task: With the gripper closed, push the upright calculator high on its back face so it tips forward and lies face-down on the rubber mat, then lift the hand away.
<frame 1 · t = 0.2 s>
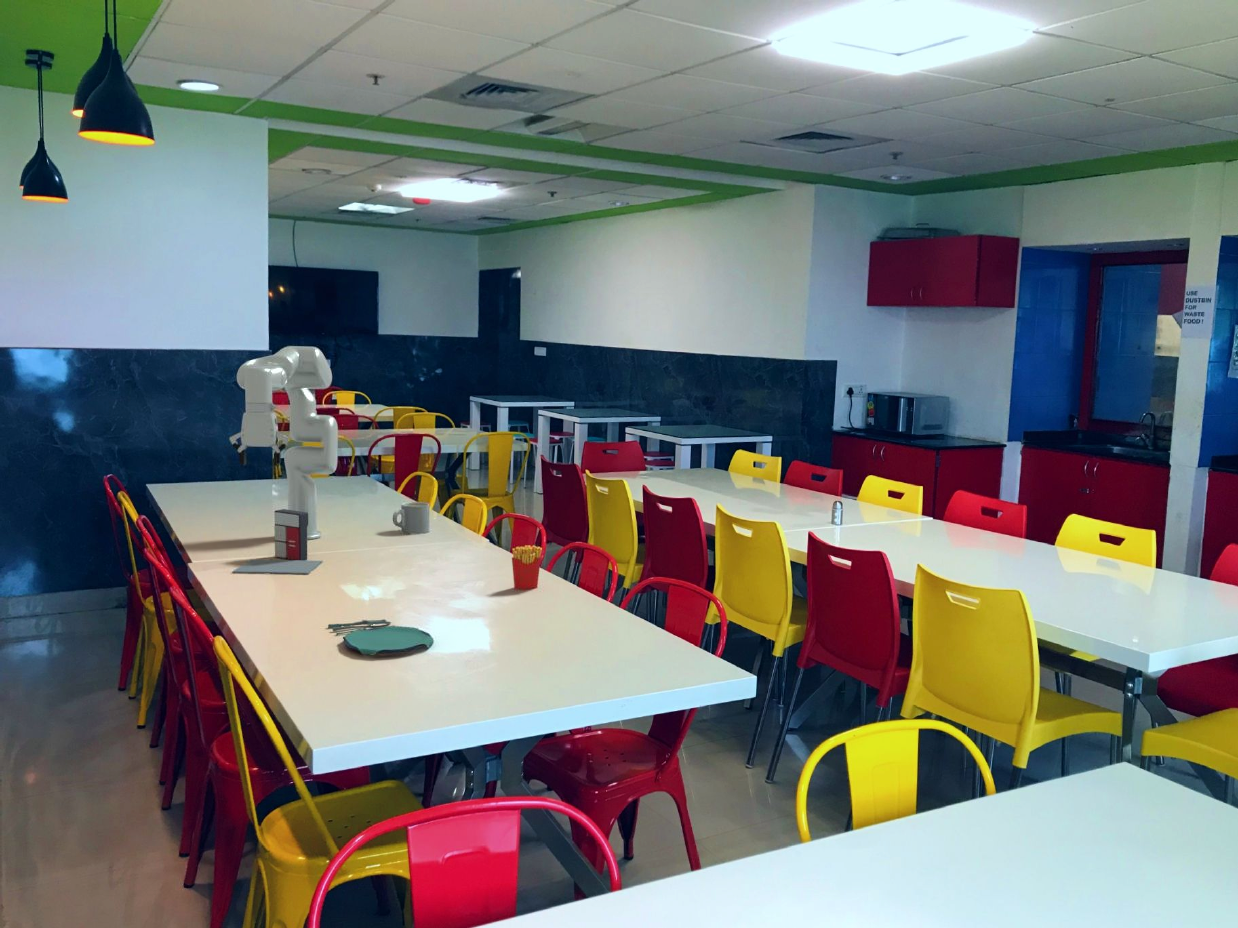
hand: (260, 465, 304), 31 cm above the table, tool pointing down, fingers open, 9 cm apart
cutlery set: (380, 641, 238), on the table
french fries: (526, 588, 289), on the table
mat: (278, 567, 305), on the table
coffee mug: (410, 532, 365), on the table
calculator: (291, 559, 318), on the table
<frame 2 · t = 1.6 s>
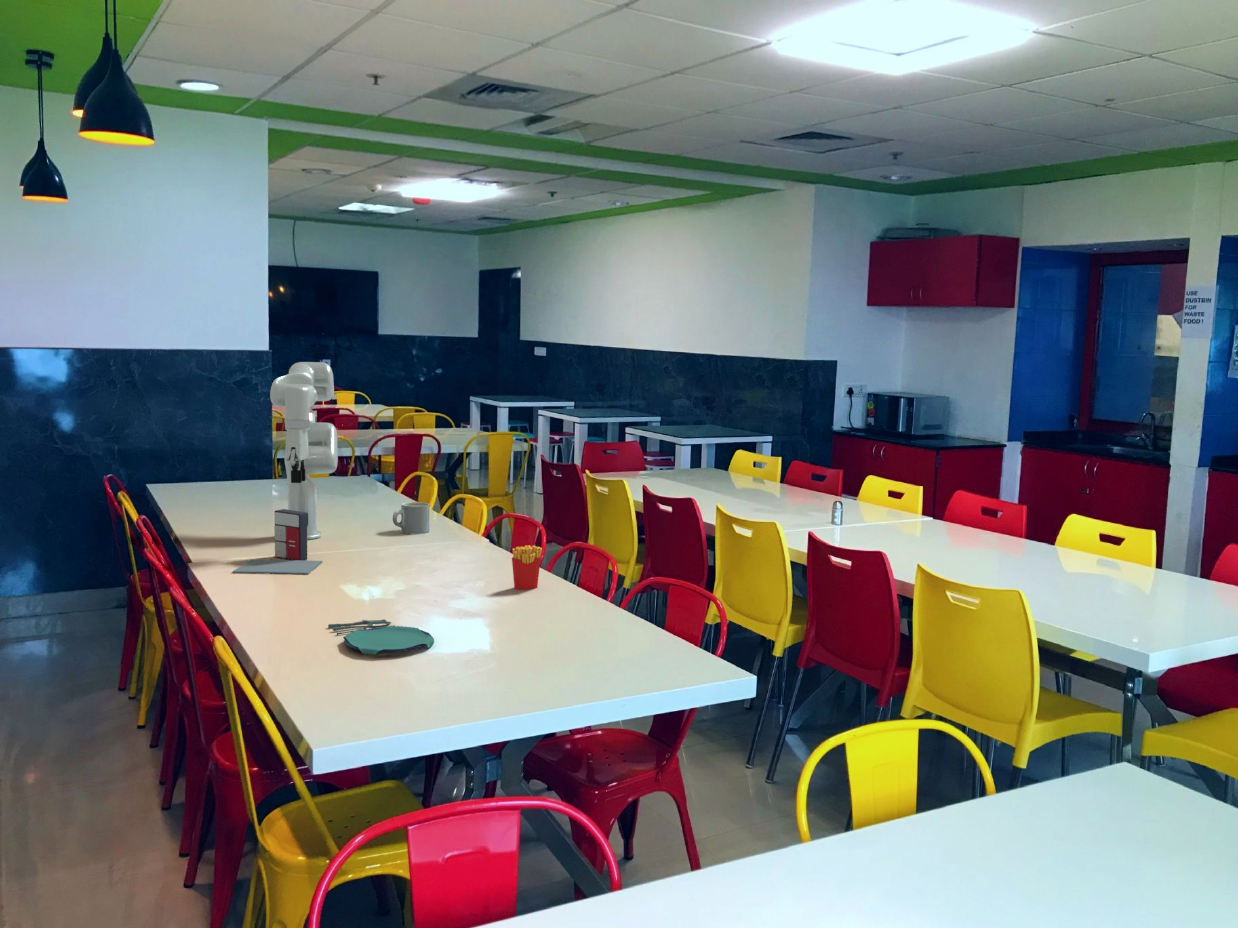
hand: (298, 481, 324), 23 cm above the table, tool pointing down, fingers open, 3 cm apart
nothing on the table moved.
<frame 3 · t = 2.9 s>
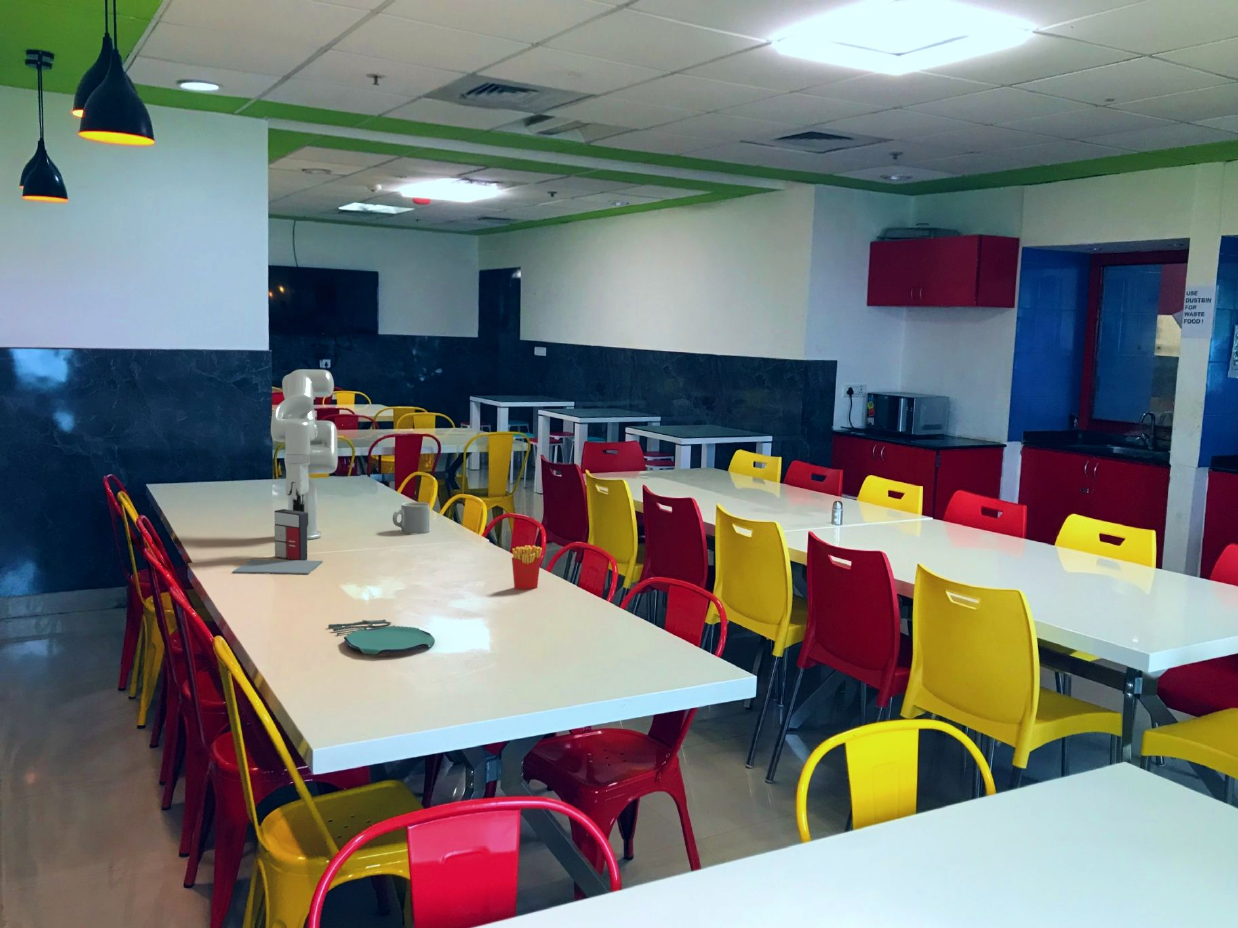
hand: (298, 516, 324), 12 cm above the table, tool pointing down, fingers closed
nothing on the table moved.
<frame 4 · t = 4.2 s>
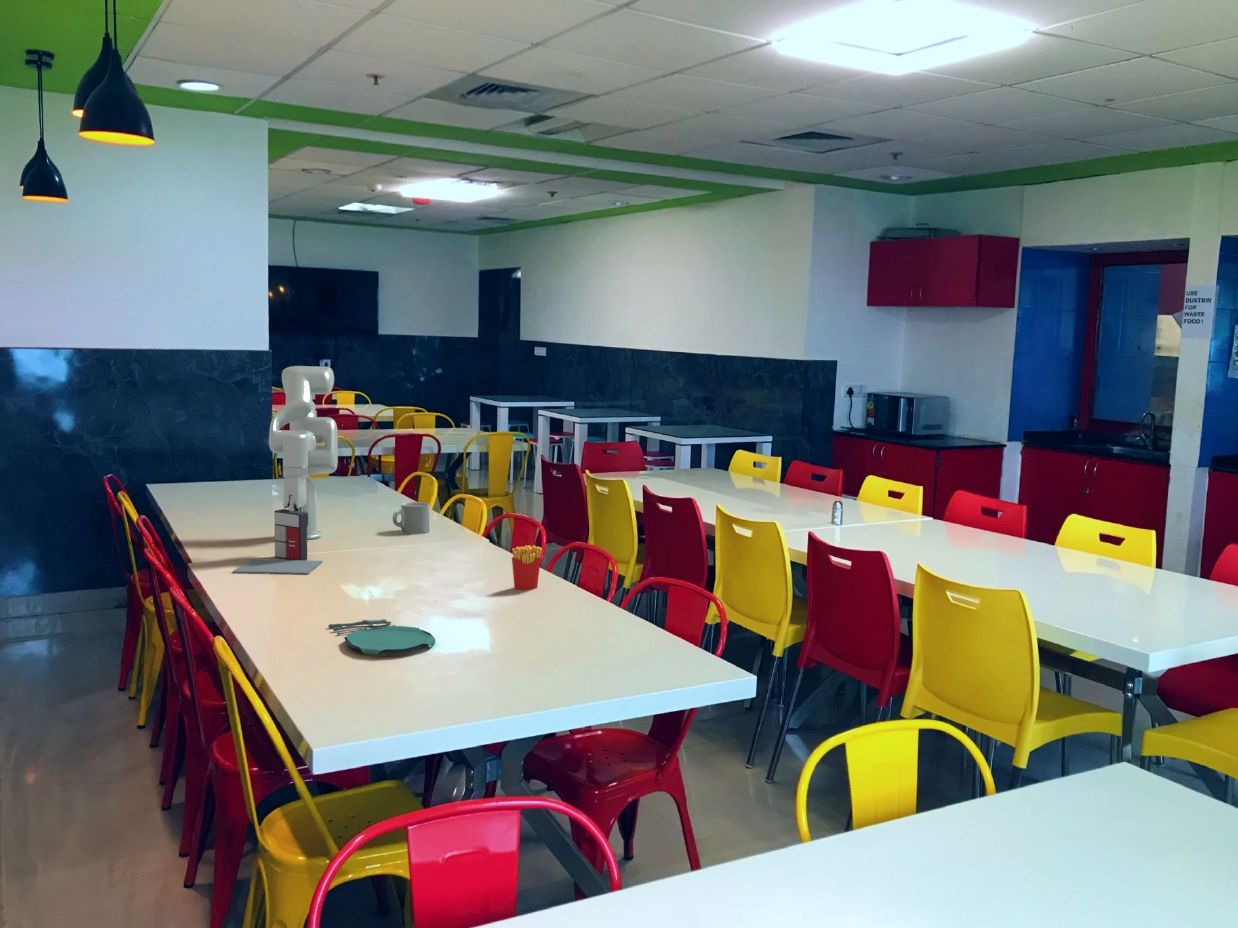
hand: (296, 528, 323), 8 cm above the table, tool pointing down, fingers closed
nothing on the table moved.
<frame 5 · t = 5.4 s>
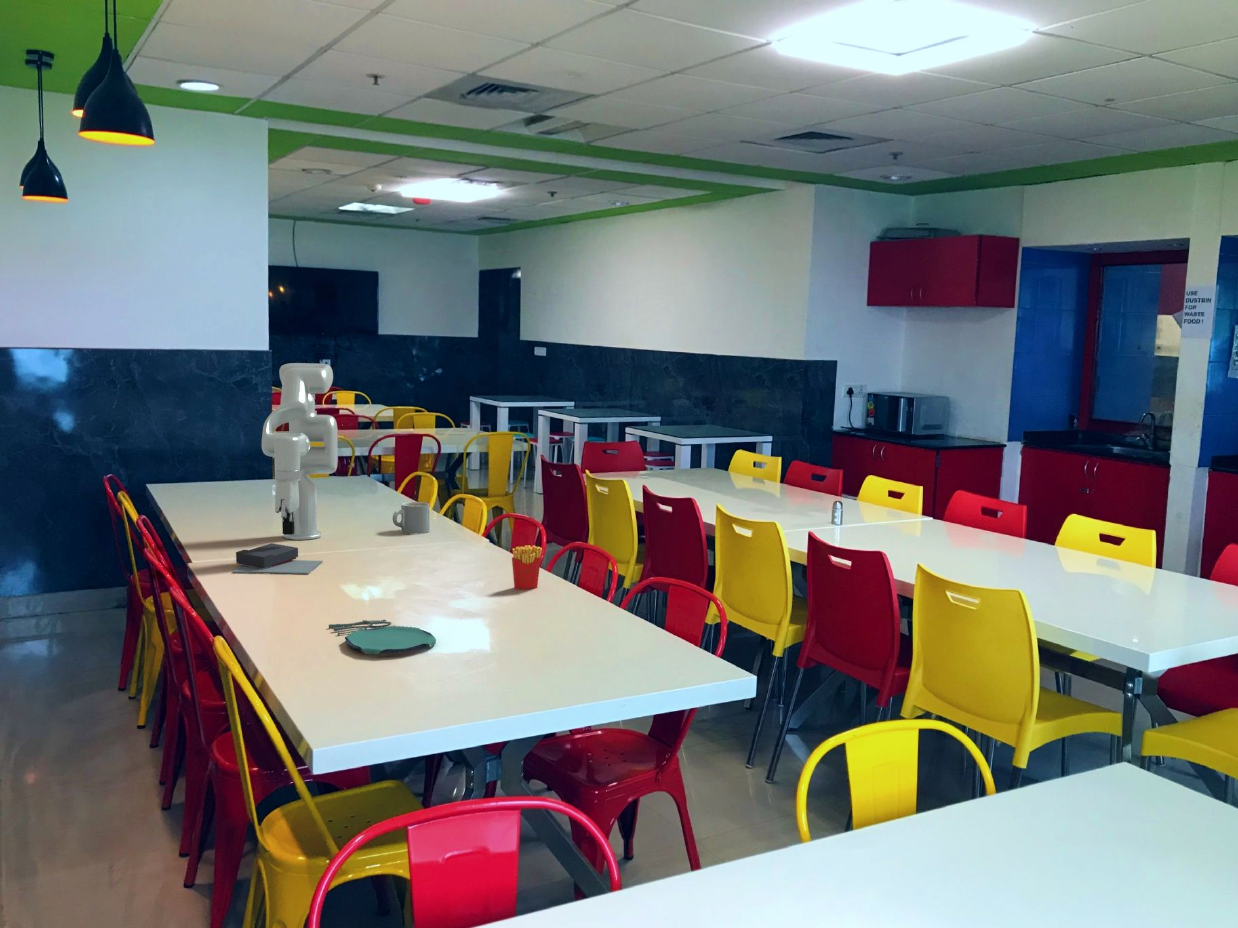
hand: (288, 533, 314), 8 cm above the table, tool pointing down, fingers closed
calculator: (285, 549, 316), point 3 cm above the table, touching mat
everything else where it was.
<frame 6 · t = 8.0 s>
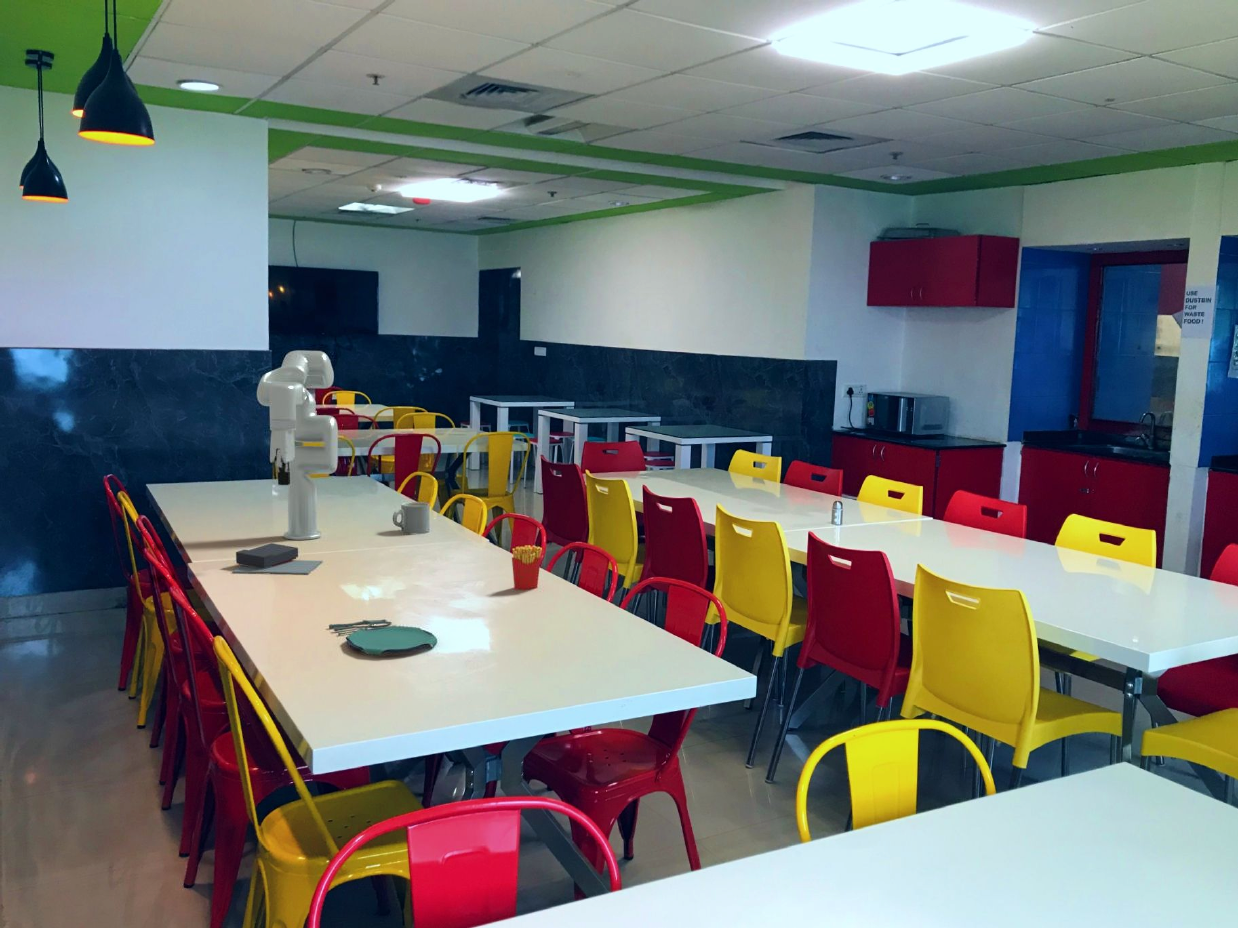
hand: (284, 484, 309), 24 cm above the table, tool pointing down, fingers closed
nothing on the table moved.
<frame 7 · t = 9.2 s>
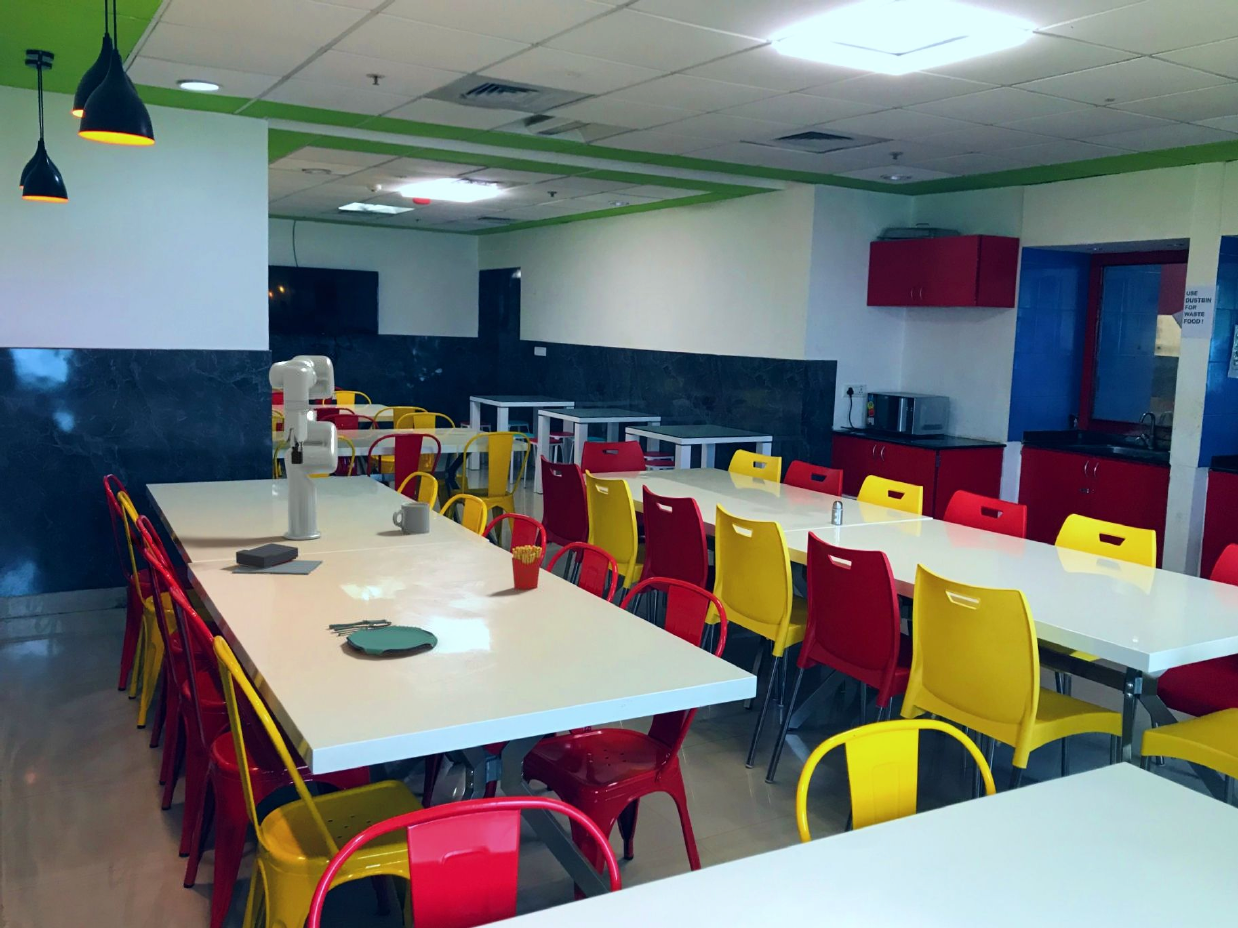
hand: (297, 463, 322), 29 cm above the table, tool pointing down, fingers closed
nothing on the table moved.
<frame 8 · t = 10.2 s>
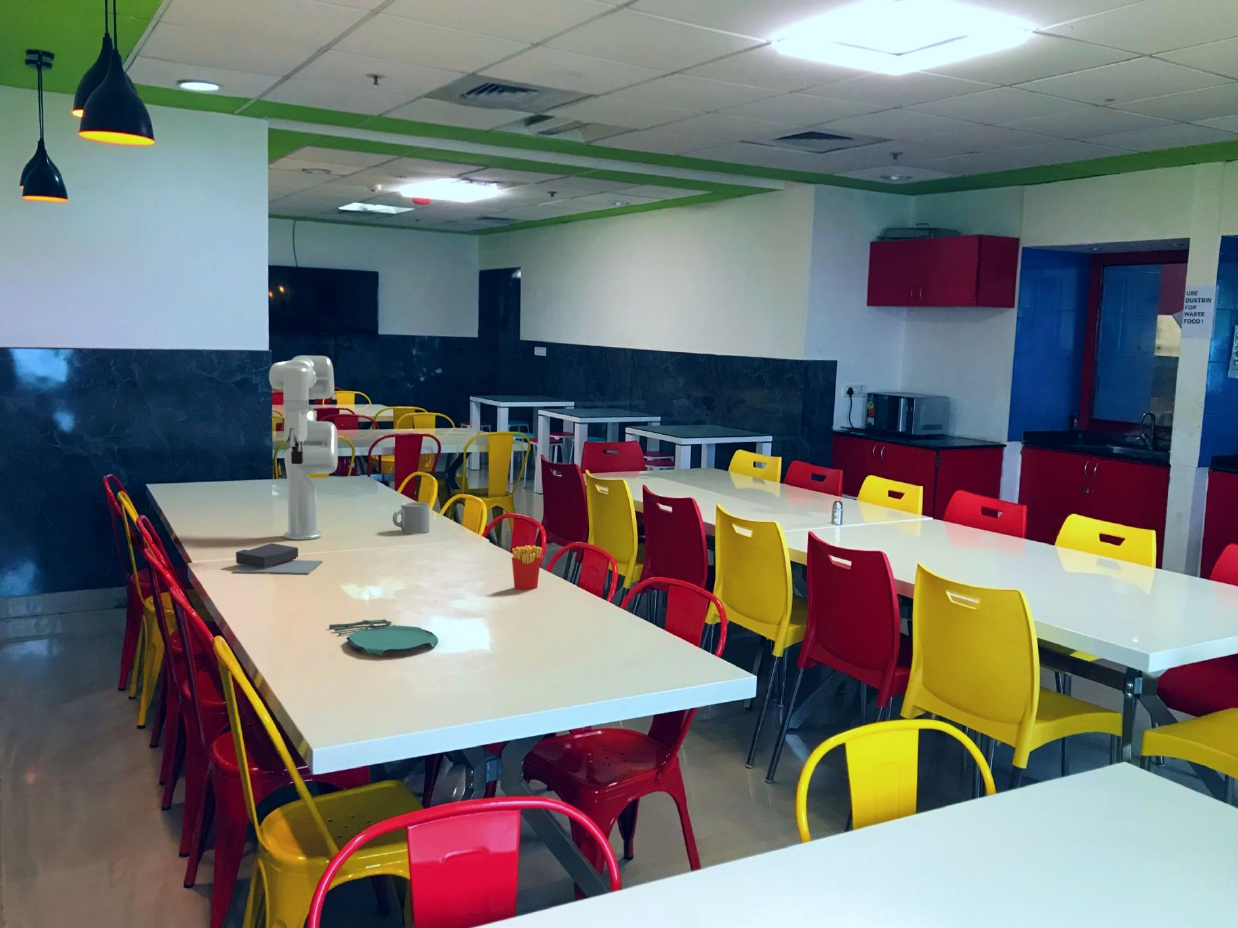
hand: (297, 463, 322), 29 cm above the table, tool pointing down, fingers closed
nothing on the table moved.
at the end: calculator tilted 93°; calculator touching mat; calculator inside the target area (2.6 cm from its centre), point 3.1 cm above the table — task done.
